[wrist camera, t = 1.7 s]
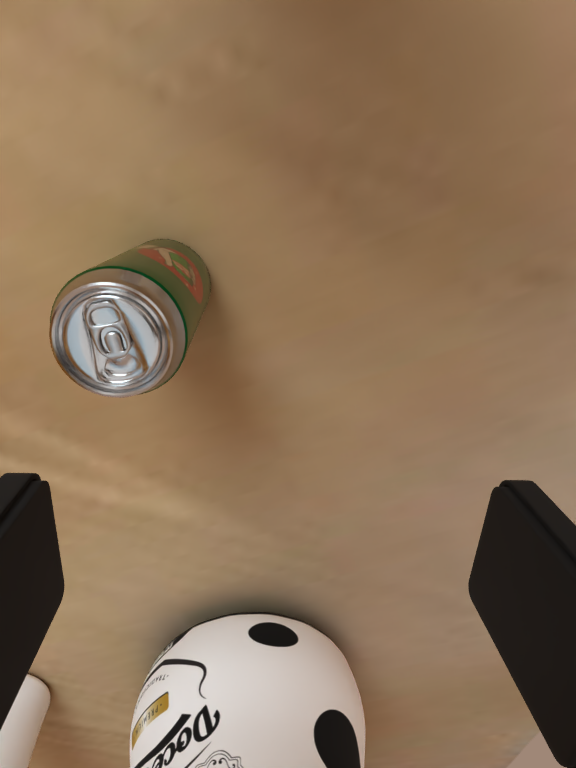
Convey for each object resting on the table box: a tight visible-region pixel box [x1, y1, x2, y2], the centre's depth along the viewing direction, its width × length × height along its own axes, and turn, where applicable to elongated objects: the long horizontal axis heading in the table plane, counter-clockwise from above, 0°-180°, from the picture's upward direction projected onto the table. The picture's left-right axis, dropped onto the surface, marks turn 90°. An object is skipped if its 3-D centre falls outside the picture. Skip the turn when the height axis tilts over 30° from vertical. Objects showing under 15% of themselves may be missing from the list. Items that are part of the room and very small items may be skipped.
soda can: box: [49, 239, 211, 397], centre depth 23 cm, size 5×5×12 cm
